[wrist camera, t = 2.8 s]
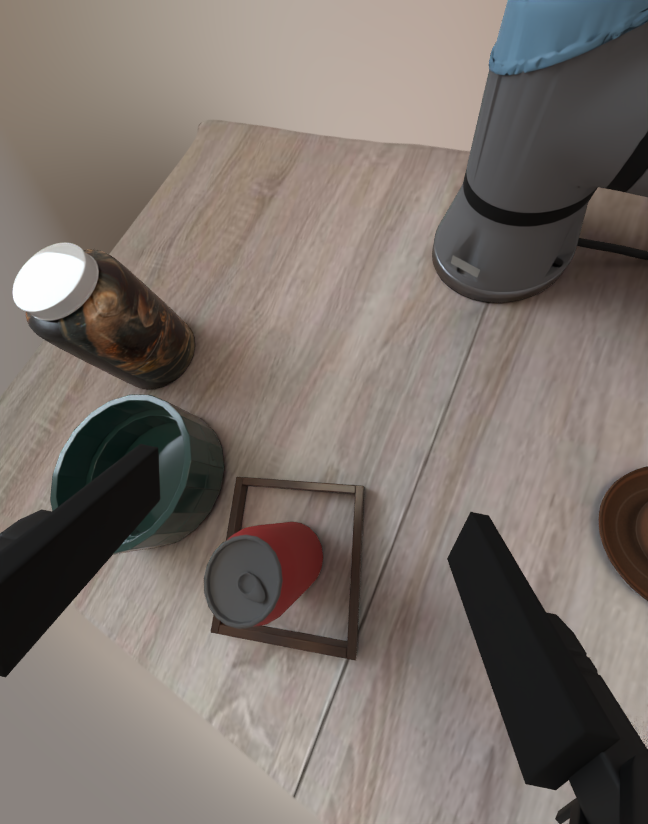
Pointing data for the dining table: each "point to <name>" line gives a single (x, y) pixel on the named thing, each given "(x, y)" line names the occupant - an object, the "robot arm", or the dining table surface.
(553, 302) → the dining table surface
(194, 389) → the dining table surface
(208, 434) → the green bowl
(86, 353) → the jar
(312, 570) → the beer can
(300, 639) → the brown square frame
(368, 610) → the dining table surface
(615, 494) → the cup and saucer
